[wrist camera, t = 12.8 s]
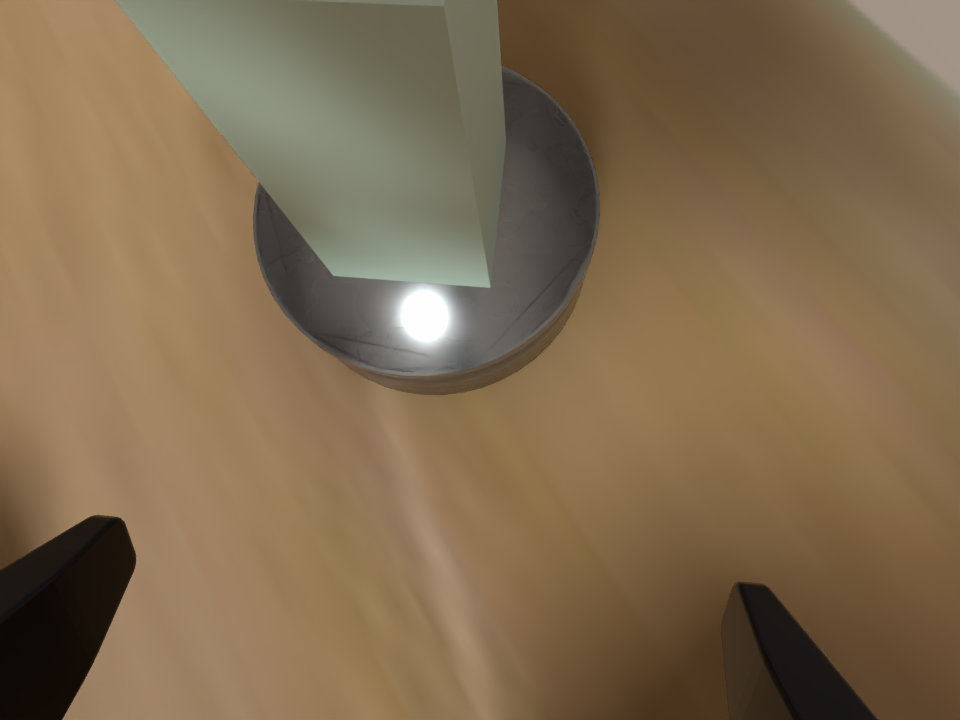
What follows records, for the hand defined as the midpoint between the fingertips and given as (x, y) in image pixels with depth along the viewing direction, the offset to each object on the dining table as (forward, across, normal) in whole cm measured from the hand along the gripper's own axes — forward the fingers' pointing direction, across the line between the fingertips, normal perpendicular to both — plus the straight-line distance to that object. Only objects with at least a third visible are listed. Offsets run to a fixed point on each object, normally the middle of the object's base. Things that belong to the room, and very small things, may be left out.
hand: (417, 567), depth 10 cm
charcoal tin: (+17, +3, +2) cm, 17 cm away
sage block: (+14, +3, 0) cm, 14 cm away
